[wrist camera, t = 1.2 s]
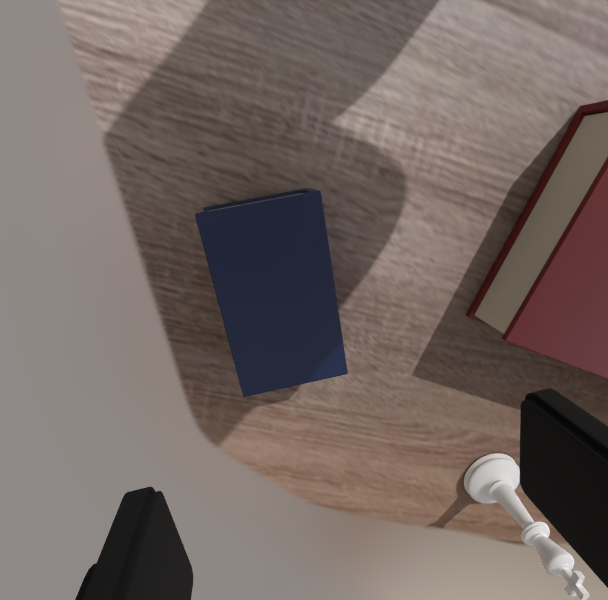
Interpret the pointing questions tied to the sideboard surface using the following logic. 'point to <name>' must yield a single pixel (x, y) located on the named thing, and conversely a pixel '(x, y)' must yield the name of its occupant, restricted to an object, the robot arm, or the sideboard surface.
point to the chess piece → (521, 515)
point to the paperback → (275, 289)
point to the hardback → (559, 256)
